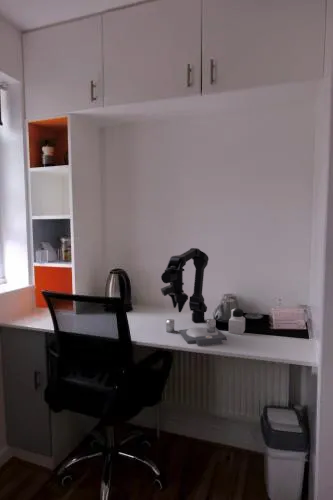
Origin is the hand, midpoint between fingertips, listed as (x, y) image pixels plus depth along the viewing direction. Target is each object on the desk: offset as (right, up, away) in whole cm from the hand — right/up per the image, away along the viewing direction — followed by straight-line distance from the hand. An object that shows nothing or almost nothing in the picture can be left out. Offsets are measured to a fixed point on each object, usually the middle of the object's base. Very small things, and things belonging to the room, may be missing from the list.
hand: (177, 309), depth 170 cm
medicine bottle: (+32, -12, +1) cm, 34 cm away
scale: (+13, -13, -7) cm, 19 cm away
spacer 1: (-4, -12, +3) cm, 13 cm away
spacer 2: (+17, -10, -4) cm, 21 cm away
